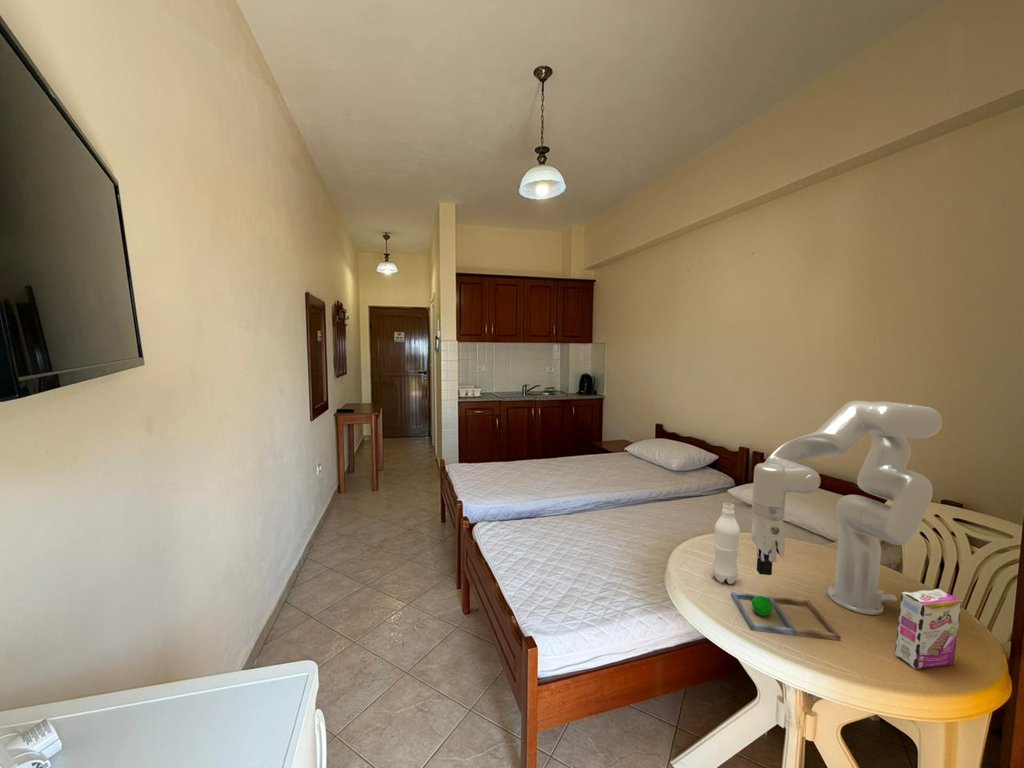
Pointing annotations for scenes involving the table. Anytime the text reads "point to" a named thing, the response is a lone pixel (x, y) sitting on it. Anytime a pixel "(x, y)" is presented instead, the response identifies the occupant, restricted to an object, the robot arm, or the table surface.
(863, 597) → the robot arm
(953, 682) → the table surface
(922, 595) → the candy bar box
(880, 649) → the table surface
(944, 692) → the table surface
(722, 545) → the water bottle
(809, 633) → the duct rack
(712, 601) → the table surface
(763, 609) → the polyhedron
